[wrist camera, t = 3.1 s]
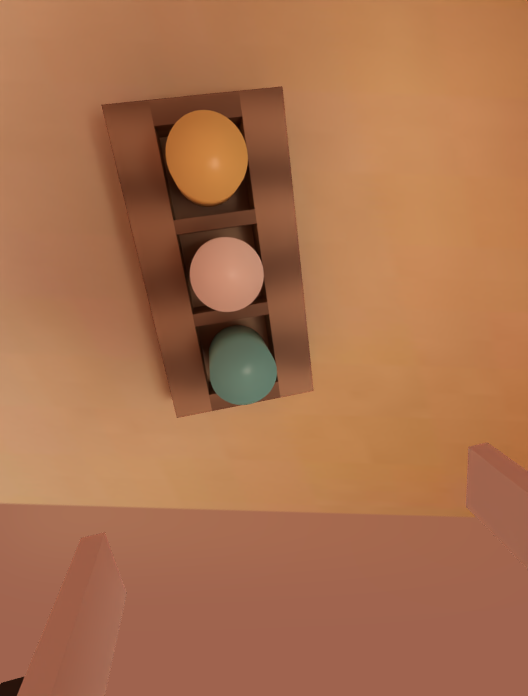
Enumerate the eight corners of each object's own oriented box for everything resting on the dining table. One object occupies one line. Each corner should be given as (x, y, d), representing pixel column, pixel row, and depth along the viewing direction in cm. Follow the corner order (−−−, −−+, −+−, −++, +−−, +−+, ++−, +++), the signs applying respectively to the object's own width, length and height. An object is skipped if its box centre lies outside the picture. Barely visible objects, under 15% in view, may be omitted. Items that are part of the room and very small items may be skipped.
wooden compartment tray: (115, 123, 27) (101, 104, 23) (271, 106, 28) (282, 86, 25) (179, 397, 34) (176, 417, 30) (301, 374, 35) (313, 390, 32)
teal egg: (203, 330, 29) (203, 348, 25) (261, 320, 30) (272, 336, 25) (214, 384, 31) (216, 410, 26) (269, 373, 31) (280, 397, 27)
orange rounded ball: (166, 137, 25) (157, 114, 20) (234, 130, 25) (241, 105, 21) (180, 211, 26) (175, 205, 22) (244, 202, 27) (253, 195, 22)
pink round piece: (186, 241, 27) (182, 243, 22) (249, 233, 28) (258, 232, 23) (198, 304, 29) (197, 317, 24) (257, 294, 29) (268, 305, 24)
